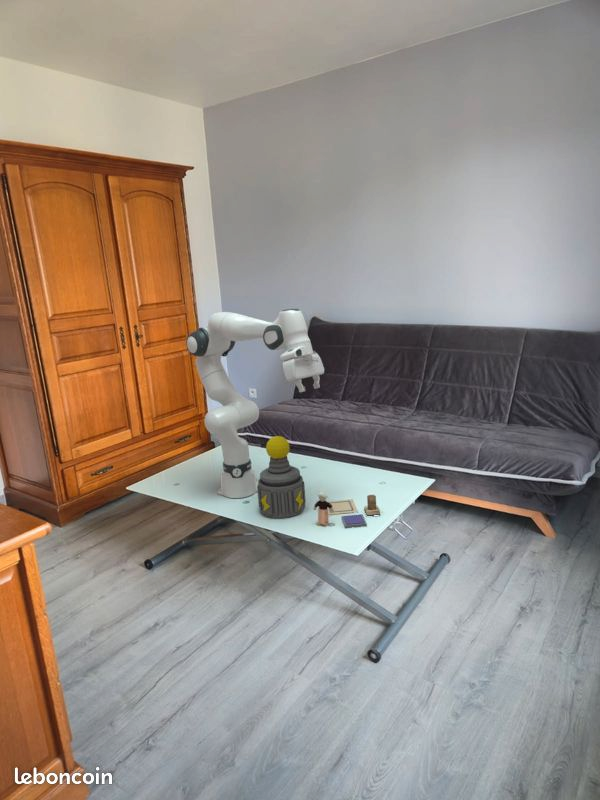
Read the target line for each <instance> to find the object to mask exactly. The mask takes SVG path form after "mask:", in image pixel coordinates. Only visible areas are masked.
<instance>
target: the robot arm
mask: <svg viewBox="0 0 600 800" xmlns="http://www.w3.org/2000/svg"><path fill="white" fill-rule="evenodd" d="M207 324H208V325H207V327H204V328H203V327H199V328H197V330H195V331H192V332H191V333H189V334H188V335H187V338H186V342H185V343H186V344H185V345H186V348H187V349H186V350H187V351H188V352H189V354H190V355H191V356H194V357H196V359H195V366H196V371H197V374H198V376H199V379H200V381H201V383H202V386H203V388H204V390H205V393H206V394H207V397H208V398H209V399H210V400H212V401H214V402H217V403H219V404H221V405H222V406H220V407H215V408H214V409H211V410H210V411H208V412H207V413H206V414H205V416H204V421H203V422H204V426H205V428H206V430H207V431H208V432H209V433H210V434H211V435H213V436H215V437H216V439H217V440H218V441H219V443H220V447H221V451H222V458H223V461H222V468H223V473H221V475H220V485H221V486H220V488H219V489H218V490H217V495H219V496H224V497H226V498H231V499H241V498H242V499H243V498H247V497H250V496H252V495H254V494H255V493H258V490H257V486H258V479H257V477H256V471H254V470H253V468H252V461H251V458H250V448H249V443H248V440H246V439H245V438H243V437H241V436H239V435H238V430H239V429H242V428H243V429H244V428H246V427H249V426H250V425H253V424H254V423H255V422H257V421H258V419H259V417H260V410H259V407H258V405H257V403H256V402H254V401H253V400H250V399H249V398H248V399H247V398H246V397H244V396H243V395H242V394H241V393H240V392H238V390H237V389H236V388H235V386H234V385H233V384H232V383H233V382H232V381H231V380H230V377H229V376H228V373H227V371H226V369H225V367H224V366H223V364H222V357H223V358H224V357H227V356H228V354H229V353H230V352H231V351H232V350H233V348H234V347H235V344H236V342H244V341H252V340H255V339H256V340H257V339H261V338H262V339H263V342H264V345H265V346H266V347H267V348H268V350H271V351H280V350H286V351H285V352H283V353H281V355H280V356H279V357H280V358H279V359H280V361H281V362H282V368H283V374H284V376H285V379H286V380H287V381H288V382H292V381H294V384H295V386H296V387H297V389H298V392H299V393H303V392H306V386H305V385H303V383H302V381H303V380H302V379H306V378H307V379H308V378H311V377H312V379H313V384H312V386H313V389H315V390H316V389H319V388H320V387H321V386H320V379H321V378H320V375H324V373H325V367H324V364H323V361H322V358H321V356H320V355H319V354H318V352H316V350H313V345H312V343H311V339H310V338H309V335H308V332H309V331H308V326H307V323H306V320H305V316H304V314H303V312H302V311H301V309H299V308H286V309H282V310H281V311H279V313H278V317H276V319H275V320H274V321H267V320H262V319H258V318H255V317H250V316H249V315H248V316H247V315H245V314H240V313H236V312H230V311H218V312H215V313H213V314H212V315H211V316H210V317H209V319H208V322H207Z"/></svg>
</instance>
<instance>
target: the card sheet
mask: <svg viewBox="0 0 600 800" xmlns="http://www.w3.org/2000/svg"><path fill="white" fill-rule="evenodd" d="M327 502H329V503H330V504H331V505H332V507H333V509H334V511H333V512H332V511H331V509H330V508H328V507H327V509H328V516H334V515H345V514H355V513H354V512H357V513H359V511H358V508H357V505H356V504H355V501H354V499H353V498H352V499H351V498H350V499H338V500H328V501H327Z"/></svg>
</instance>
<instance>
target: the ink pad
mask: <svg viewBox="0 0 600 800" xmlns="http://www.w3.org/2000/svg"><path fill="white" fill-rule="evenodd" d="M341 521H342V524H343V527H344V529H352V527H354V528H362V527H361V526H364V527H367V526H368V523H367V521H366V518H365V517H364V514H362V513H361V514H359V513H358V514H350V515H342V516H341Z"/></svg>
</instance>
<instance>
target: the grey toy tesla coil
mask: <svg viewBox="0 0 600 800" xmlns="http://www.w3.org/2000/svg"><path fill="white" fill-rule="evenodd" d="M265 448H266V449H265V450H266V453H267V456H269V463H268V467H267V468H265V469H263V470H261V472H260V474H259V477H260V478H259V479H257V481H258V486H257V490H258V492H257V500H258V507H259V510H260V513H262V515H264V516H266V517H268V518H271V519H287V518H292V517H296V516H297V514H298V515H299V514H300V513H302V512H303V511H304V509H305V507H306V490H305V481H304V479H303V476H302V475H301V472H300V471H301V470H300V469H299V468H298V467H296V466H292V465H291V464H290V462H289V458H288V455H289V453H290V443H289V441H288V440H287V439H286V438H285V437H284V436H281V435H276V436H275V435H274V436H273V437H271V438H269V440H268V441H267V443H266V444H265Z"/></svg>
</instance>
